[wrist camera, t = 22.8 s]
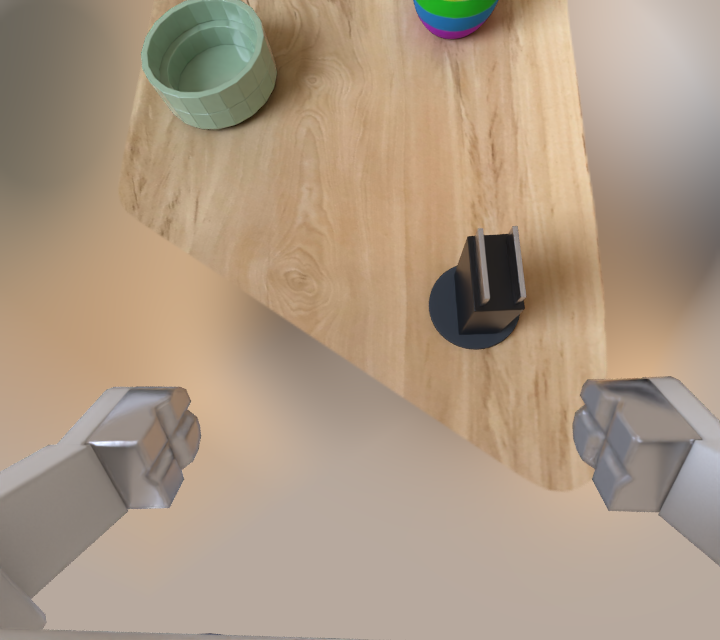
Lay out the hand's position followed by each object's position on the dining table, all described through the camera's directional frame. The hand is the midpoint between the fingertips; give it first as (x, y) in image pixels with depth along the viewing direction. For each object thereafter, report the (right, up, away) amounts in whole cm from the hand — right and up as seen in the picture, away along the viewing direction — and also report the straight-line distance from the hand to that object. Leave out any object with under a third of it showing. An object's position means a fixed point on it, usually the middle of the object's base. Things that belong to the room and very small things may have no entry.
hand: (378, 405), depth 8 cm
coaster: (+9, +3, +24) cm, 25 cm away
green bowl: (-14, +25, +32) cm, 43 cm away
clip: (+9, +3, +23) cm, 25 cm away
